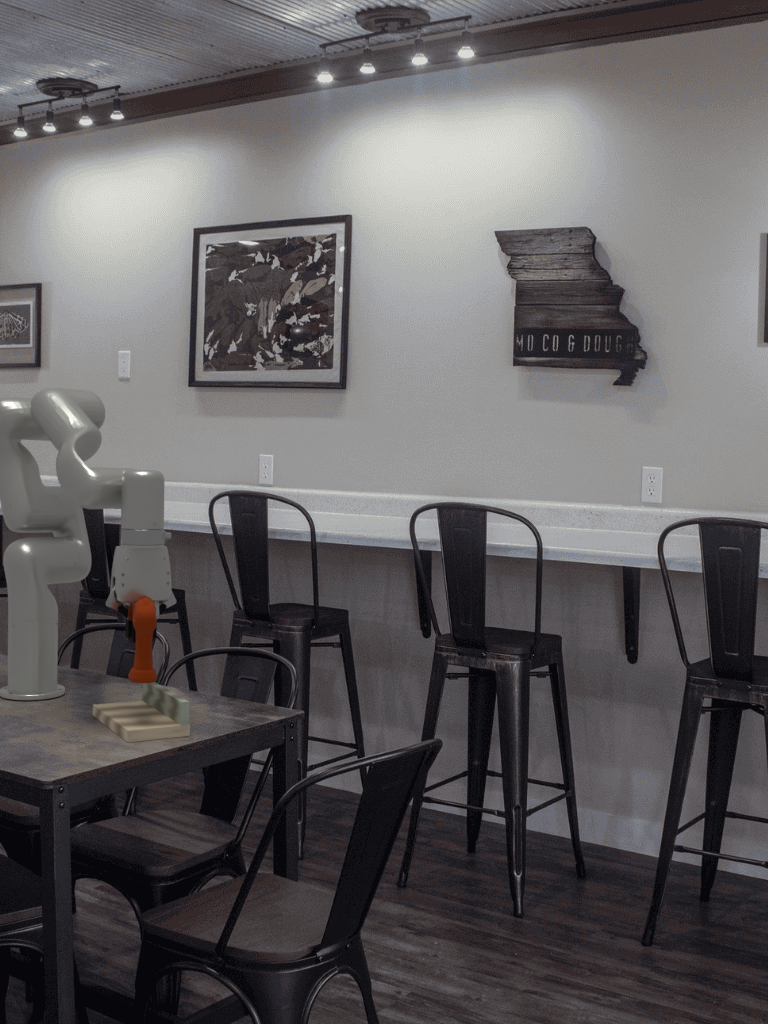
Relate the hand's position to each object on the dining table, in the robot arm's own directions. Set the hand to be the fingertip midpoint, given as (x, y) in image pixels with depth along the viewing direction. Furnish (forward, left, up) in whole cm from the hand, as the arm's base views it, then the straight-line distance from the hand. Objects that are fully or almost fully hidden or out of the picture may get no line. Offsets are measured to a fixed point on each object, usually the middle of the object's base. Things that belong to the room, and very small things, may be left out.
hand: (140, 640), depth 197 cm
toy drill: (0, 0, -6) cm, 6 cm away
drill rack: (0, 0, -15) cm, 15 cm away
